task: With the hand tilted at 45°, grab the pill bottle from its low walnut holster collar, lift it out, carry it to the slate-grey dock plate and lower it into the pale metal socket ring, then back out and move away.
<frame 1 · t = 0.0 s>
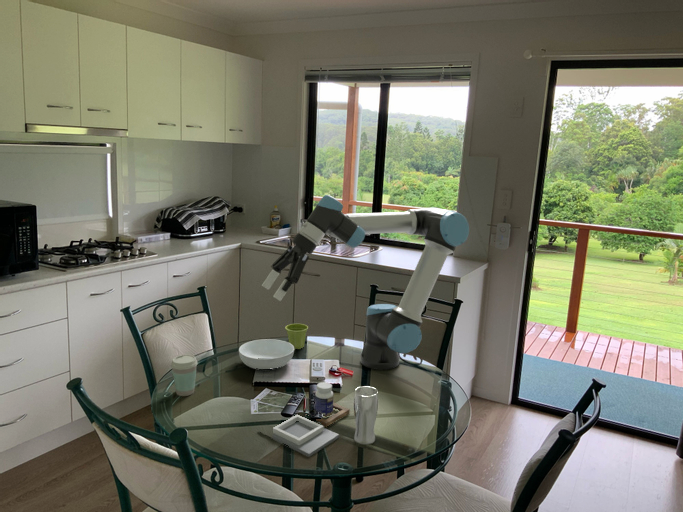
hand: (270, 293, 173), 36 cm above the table, tool tilted 35°, fingers open, 13 cm apart
plant pot: (296, 347, 225), on the table
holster: (323, 414, 170), on the table
pill bottle: (323, 415, 170), resting in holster
serving bowl: (266, 365, 206), on the table
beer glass: (364, 439, 156), on the table
dock: (298, 434, 158), on the table
coffee cup: (185, 392, 182), on the table
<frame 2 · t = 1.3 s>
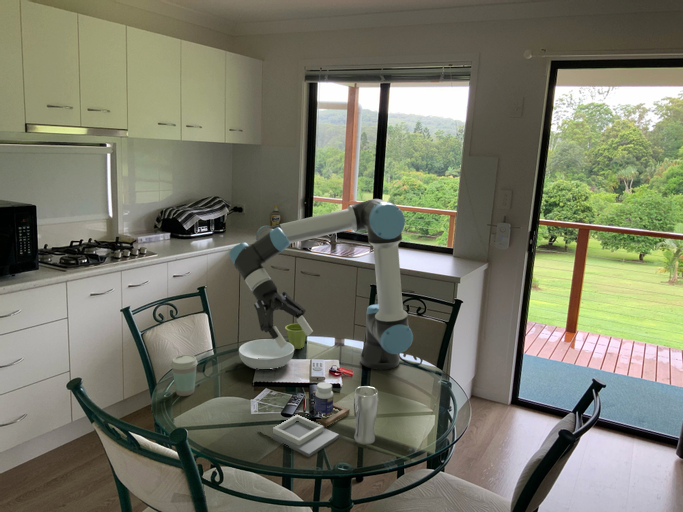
hand: (297, 339, 171), 22 cm above the table, tool tilted 45°, fingers open, 13 cm apart
nothing on the table moved.
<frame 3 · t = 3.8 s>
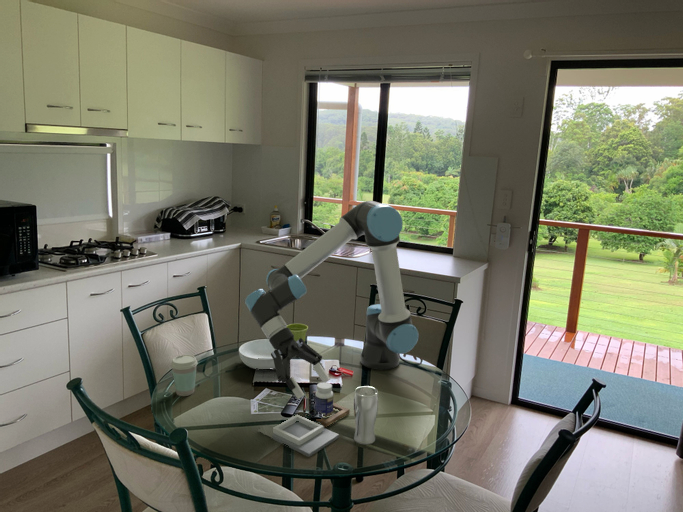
hand: (314, 389, 169), 8 cm above the table, tool tilted 45°, fingers open, 13 cm apart
nothing on the table moved.
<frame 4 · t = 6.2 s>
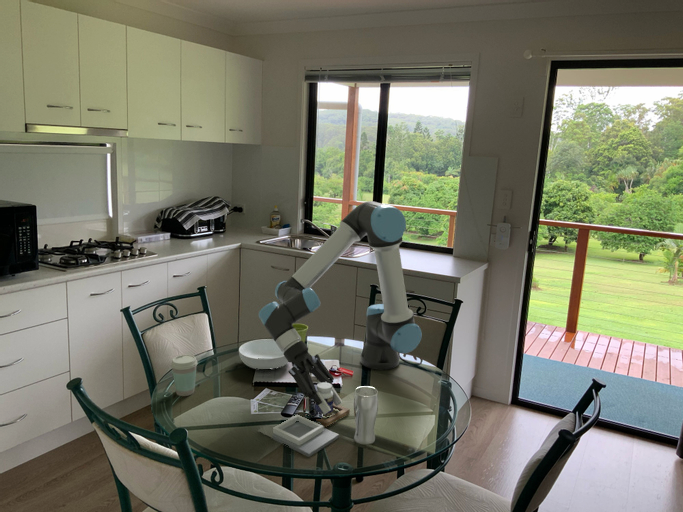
hand: (333, 407, 167), 3 cm above the table, tool tilted 45°, fingers closed on pill bottle, 6 cm apart
pill bottle: (323, 415, 170), resting in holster, touching gripper
everything else where it was.
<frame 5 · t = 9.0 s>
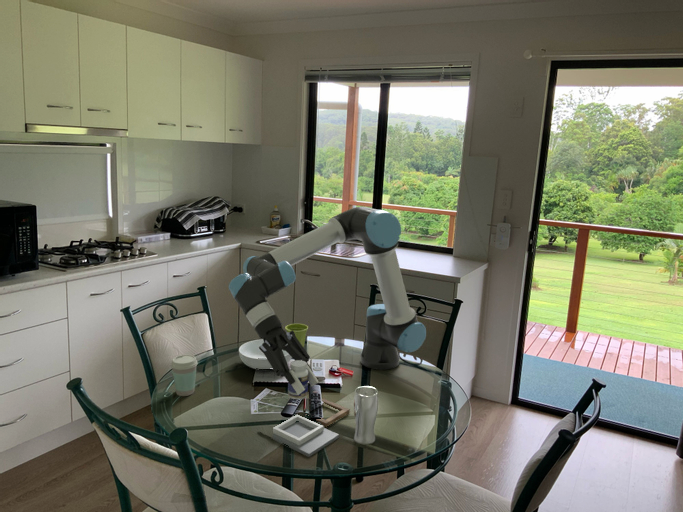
hand: (308, 388, 153), 16 cm above the table, tool tilted 45°, fingers closed on pill bottle, 6 cm apart
pill bottle: (297, 396, 155), point 12 cm above the table, touching gripper
everything else where it was.
when the fingers open (7 cm above the table, at t = 11.7 s): pill bottle drops 2 cm, resting on dock.
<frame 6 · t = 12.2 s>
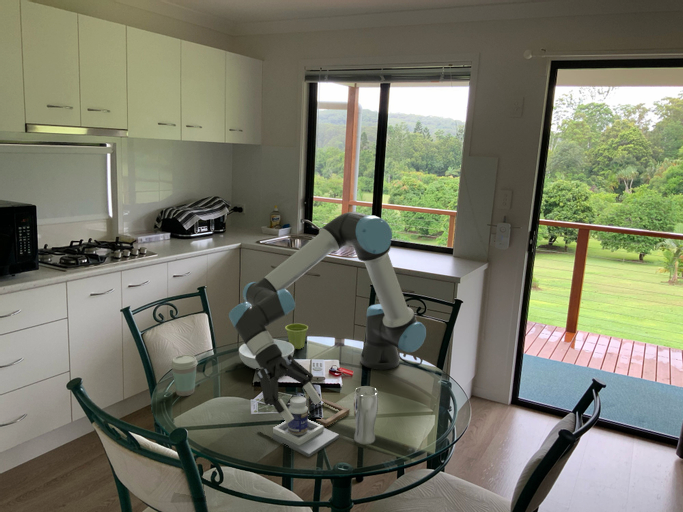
hand: (305, 411, 155), 8 cm above the table, tool tilted 45°, fingers open, 13 cm apart
pill bottle: (297, 431, 158), point 1 cm above the table, touching dock
everything else where it was.
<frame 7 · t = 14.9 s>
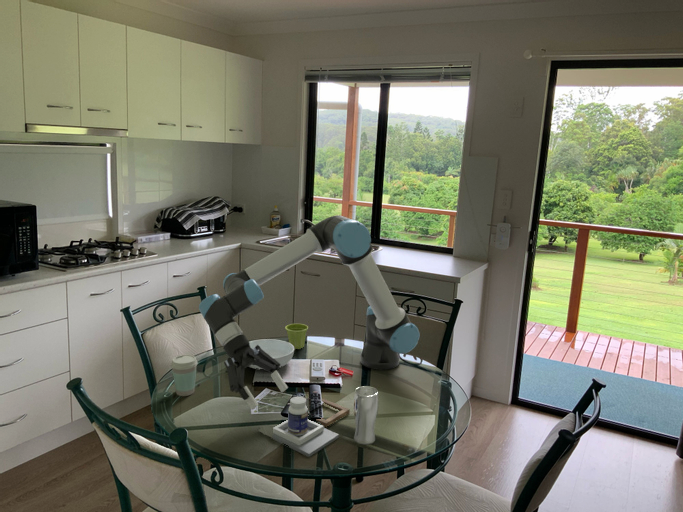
hand: (270, 398, 162), 8 cm above the table, tool tilted 45°, fingers open, 13 cm apart
nothing on the table moved.
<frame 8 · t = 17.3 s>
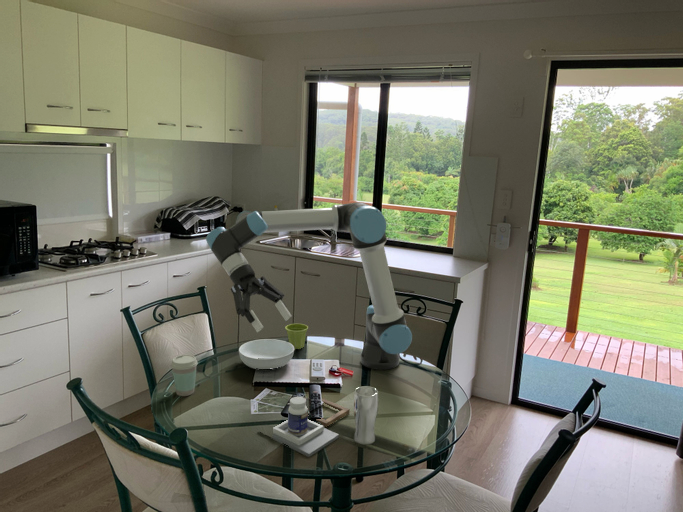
hand: (275, 324, 169), 28 cm above the table, tool tilted 45°, fingers open, 13 cm apart
nothing on the table moved.
at the end: pill bottle 0.1 cm off-centre on the dock, point 0.8 cm above the dock's base; pill bottle tilted 1°; the gripper is holding nothing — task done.
